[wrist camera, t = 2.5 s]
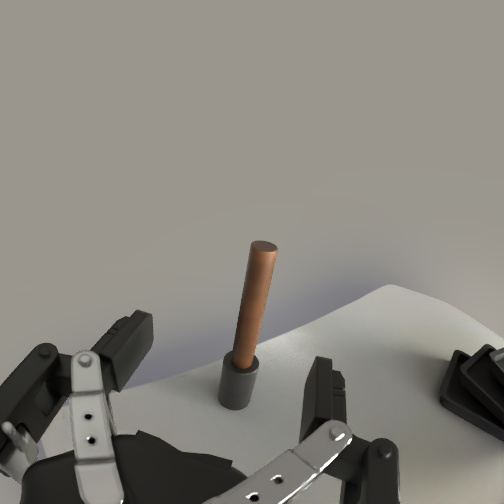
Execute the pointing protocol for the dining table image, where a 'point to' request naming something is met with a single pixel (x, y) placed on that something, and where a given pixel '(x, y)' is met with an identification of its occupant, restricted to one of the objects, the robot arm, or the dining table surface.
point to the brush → (247, 329)
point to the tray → (476, 388)
